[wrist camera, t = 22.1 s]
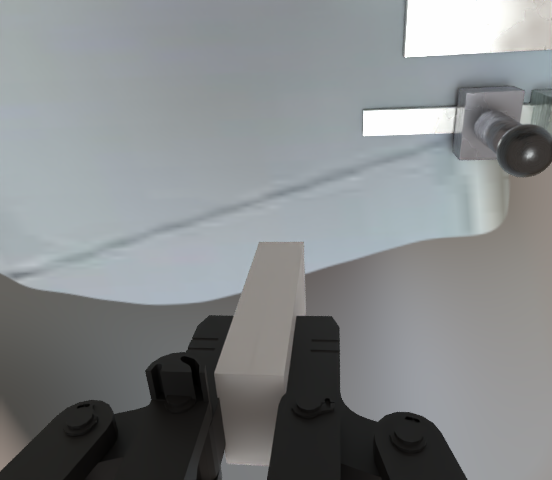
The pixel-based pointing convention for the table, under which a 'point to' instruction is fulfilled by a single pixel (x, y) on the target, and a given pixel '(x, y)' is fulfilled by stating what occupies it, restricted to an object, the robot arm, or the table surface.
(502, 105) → the lever
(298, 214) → the table surface
